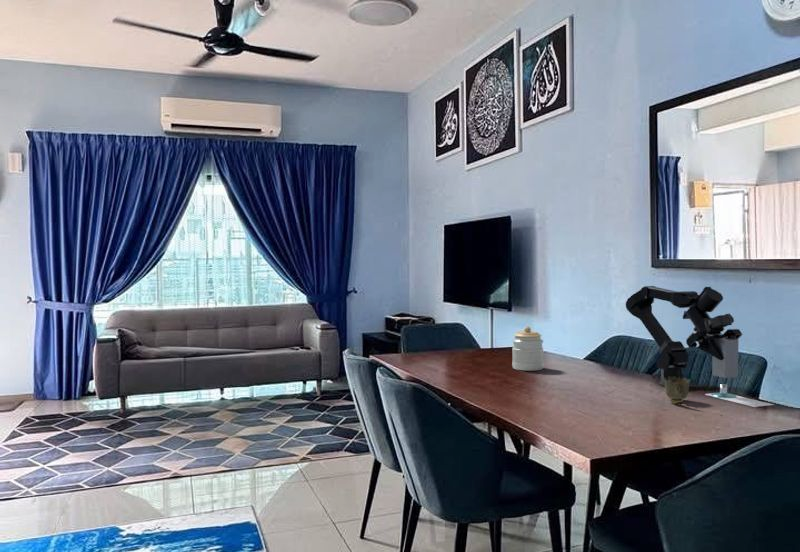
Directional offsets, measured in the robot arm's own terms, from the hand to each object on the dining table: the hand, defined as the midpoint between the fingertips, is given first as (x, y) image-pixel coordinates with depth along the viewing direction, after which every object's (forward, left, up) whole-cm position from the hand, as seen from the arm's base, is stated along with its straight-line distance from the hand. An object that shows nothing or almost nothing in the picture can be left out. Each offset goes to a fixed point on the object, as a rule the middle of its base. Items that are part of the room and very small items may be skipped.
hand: (728, 358), depth 197 cm
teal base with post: (-1, +2, -13) cm, 13 cm away
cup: (-18, -6, -13) cm, 23 cm away
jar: (-57, +57, -13) cm, 82 cm away
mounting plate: (+1, -3, -13) cm, 14 cm away
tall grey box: (-1, +1, -6) cm, 6 cm away
